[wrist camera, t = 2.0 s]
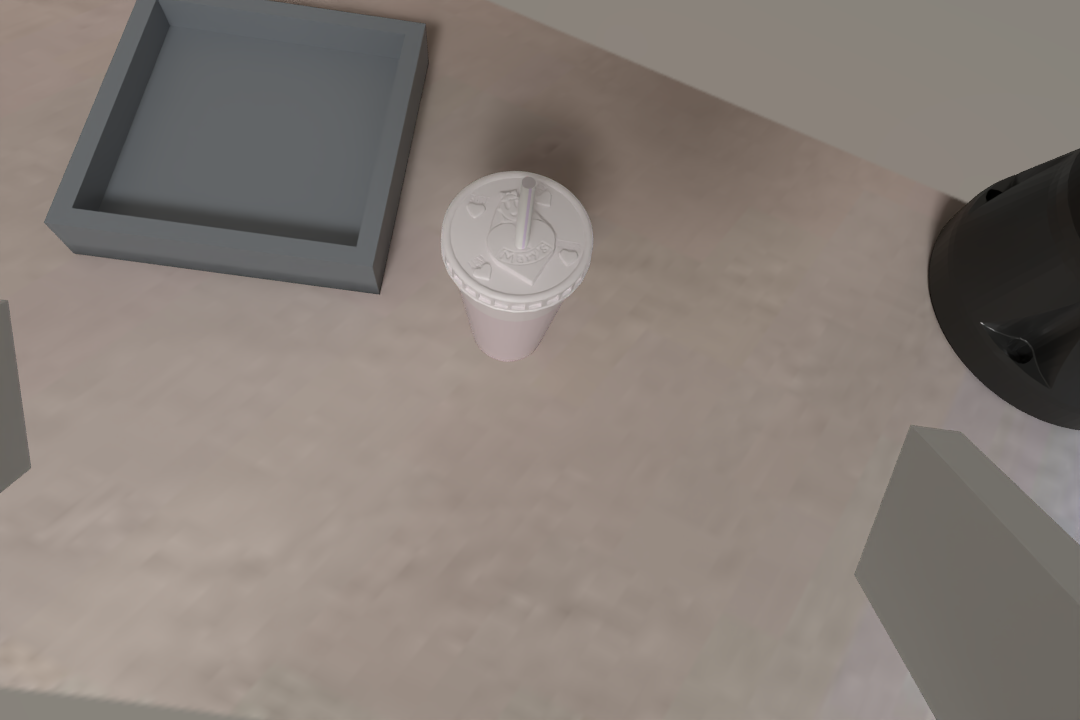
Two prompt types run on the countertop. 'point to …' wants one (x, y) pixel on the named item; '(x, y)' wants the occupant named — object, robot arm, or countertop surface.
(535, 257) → the smoothie
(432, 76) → the countertop surface
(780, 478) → the countertop surface
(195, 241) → the tray
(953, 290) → the robot arm
